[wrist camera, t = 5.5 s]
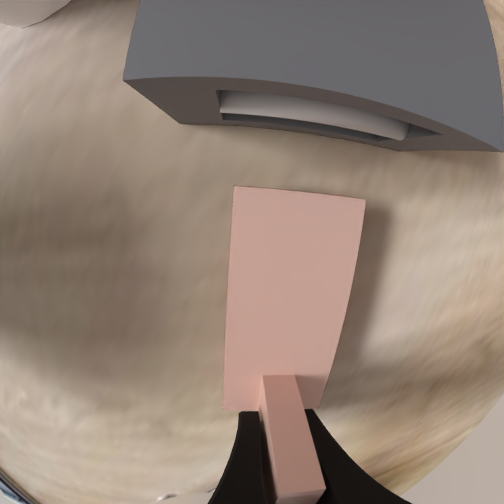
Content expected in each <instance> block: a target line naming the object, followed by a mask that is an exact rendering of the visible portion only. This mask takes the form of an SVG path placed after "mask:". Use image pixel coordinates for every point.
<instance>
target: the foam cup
mask: <svg viewBox="0 0 504 504" xmlns="http://www.w3.org/2000/svg"><path fill="white" fill-rule="evenodd" d="M70 1H71V0H0V23H2V24H7V25H10V26H16V27H19V28H24V27H27V26H30V25H32V24H35V23H38V22H41V21H43V20H45V19H46V18H47V17H49V16H50V15H52V14H53V13H55V12H56V11H58V10H59V9H61V8H62V7H64V6H66V5H67V4H68V3H69V2H70Z"/></svg>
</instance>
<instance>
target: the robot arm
mask: <svg viewBox="0 0 504 504" xmlns="http://www.w3.org/2000/svg"><path fill="white" fill-rule="evenodd" d="M304 411H305V414H306V418H307V421H308V425H309V428H310V432H311V436H312V439H313V443H314V446H315V450H316V454H317V457H318V461H319V465H320V468H321V472H322V475H323V479H324V483H325V486H326V489H325V491H324V492H323V494H322V495H321V497H320V498H319V500H318V501H317V503H316V504H412V503H410V502H408V501H406V500H404V499H402V498H401V497H399V496H397V495H396V494H394V493H393V492H391V491H389V490H388V489H386V488H385V487H383V486H382V485H381V484H379V483H378V482H377V481H375V480H374V479H373V478H372V477H371V476H369V475H368V474H367V473H366V472H365V471H364V470H362V469H361V468H360V467H359V466H358V465H357V464H356V463H355V462H354V461H353V460H352V459H351V458H350V457H349V456H348V454H347V453H346V452H345V451H344V450H343V449H342V448H341V446H340V445H339V444H338V443H337V442H336V441H335V439H334V438H333V437H332V436H331V434H330V433H329V432H328V430H327V429H326V428H325V426H324V425H323V423H322V422H321V421H320V419H319V418H318V416H317V415H316V413H315V412H314V410H312V409H304ZM208 504H266V503H265V496H264V490H263V483H262V449H261V422H260V417H259V412H258V411H242V412H240V413H239V420H238V430H237V434H236V439H235V442H234V446H233V449H232V452H231V455H230V458H229V461H228V463H227V465H226V468H225V470H224V473H223V475H222V477H221V479H220V482H219V484H218V486H217V488H216V489H215V491H214V493H213V495H212V497H211V499H210V500H209V502H208Z"/></svg>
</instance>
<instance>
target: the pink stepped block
mask: <svg viewBox="0 0 504 504" xmlns="http://www.w3.org/2000/svg"><path fill="white" fill-rule="evenodd" d="M365 204H366V200H365V199H361V198H355V197H347V196H340V195H332V194H323V193H315V192H305V191H296V190H286V189H275V188H263V187H250V186H236V185H234V195H233V209H232V224H231V239H230V255H229V272H228V290H227V309H226V330H225V353H224V380H223V410H257V411H258V412H259V417H260V422H261V449H262V483H263V490H264V496H265V503H266V504H316V503H317V501H318V500H319V498H320V497H321V495H322V494H323V492H324V491H325V489H326V486H325V483H324V479H323V475H322V472H321V468H320V465H319V461H318V457H317V454H316V450H315V446H314V443H313V439H312V436H311V432H310V428H309V425H308V421H307V418H306V414H305V411H304V409H312V408H319V406H320V403H321V400H322V397H323V394H324V390H325V387H326V384H327V381H328V378H329V374H330V371H331V367H332V364H333V360H334V357H335V353H336V349H337V346H338V342H339V338H340V334H341V330H342V326H343V322H344V318H345V314H346V310H347V305H348V301H349V296H350V291H351V287H352V282H353V277H354V272H355V267H356V261H357V256H358V250H359V244H360V238H361V232H362V225H363V219H364V211H365Z"/></svg>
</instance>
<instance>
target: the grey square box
mask: <svg viewBox="0 0 504 504" xmlns="http://www.w3.org/2000/svg"><path fill="white" fill-rule="evenodd" d="M123 81H124V82H126V83H127V84H128V85H130V86H131V87H132V88H134V89H135V90H136V91H138V92H139V93H141V94H142V95H143V96H144V97H146V98H147V99H148V100H150V101H151V102H152V103H154V104H155V105H156V106H158V107H159V108H160V109H162V110H163V111H164V112H165V113H167V114H168V115H169V116H171V117H172V118H173V119H174V120H176V121H177V122H178V123H179V124H215V125H233V126H247V127H259V128H269V129H278V130H287V131H295V132H302V133H309V134H316V135H322V136H328V137H334V138H340V139H345V140H350V141H356V142H360V143H365V144H370V145H375V146H379V147H383V148H388V149H392V150H396V151H421V150H463V151H491V152H504V115H503V100H502V89H501V80H500V73H499V66H498V60H497V54H496V49H495V44H494V39H493V35H492V31H491V27H490V23H489V19H488V16H487V12H486V9H485V5H484V2H483V0H140V4H139V7H138V11H137V15H136V18H135V22H134V26H133V30H132V35H131V39H130V44H129V48H128V53H127V58H126V63H125V69H124V75H123Z"/></svg>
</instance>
